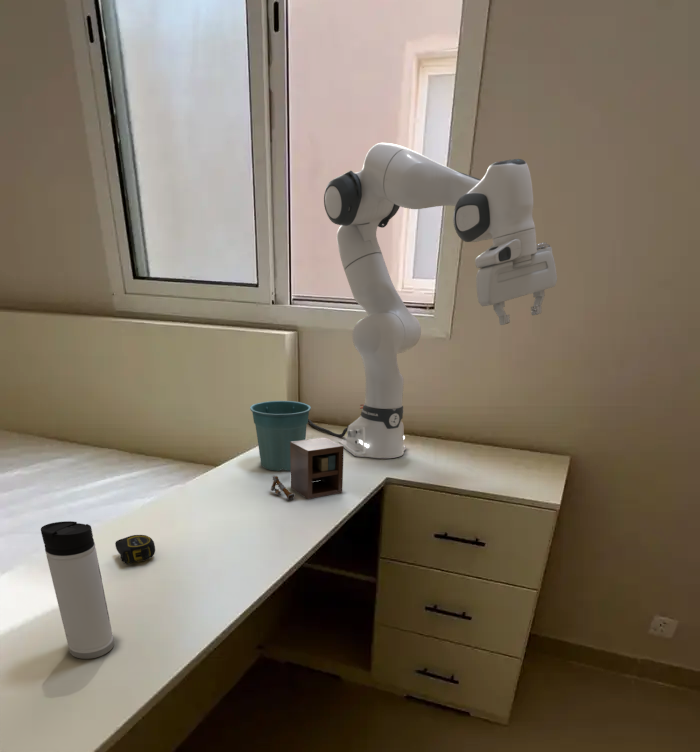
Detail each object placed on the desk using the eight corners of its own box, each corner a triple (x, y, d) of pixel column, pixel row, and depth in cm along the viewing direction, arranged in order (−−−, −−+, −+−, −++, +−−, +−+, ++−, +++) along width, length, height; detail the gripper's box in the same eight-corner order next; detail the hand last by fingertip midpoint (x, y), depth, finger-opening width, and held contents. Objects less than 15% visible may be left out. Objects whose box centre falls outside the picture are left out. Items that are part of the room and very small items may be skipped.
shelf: (290, 488, 155) (290, 441, 149) (324, 482, 160) (324, 437, 154) (308, 499, 148) (308, 450, 142) (342, 493, 153) (343, 445, 147)
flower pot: (259, 476, 162) (256, 415, 154) (247, 458, 176) (244, 401, 168) (317, 472, 167) (318, 412, 159) (302, 455, 180) (302, 399, 172)
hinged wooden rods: (272, 486, 152) (276, 472, 149) (290, 507, 150) (295, 493, 146) (266, 488, 151) (270, 474, 148) (285, 508, 149) (289, 494, 145)
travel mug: (58, 655, 88) (26, 528, 78) (90, 632, 94) (64, 511, 84) (92, 665, 87) (64, 537, 77) (123, 641, 92) (100, 519, 82)
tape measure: (116, 554, 118) (113, 536, 116) (152, 548, 121) (149, 531, 119) (122, 568, 113) (119, 550, 111) (159, 562, 116) (157, 544, 114)
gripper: (540, 243, 135) (544, 310, 141) (468, 261, 128) (476, 330, 134) (561, 237, 130) (565, 307, 136) (488, 256, 123) (496, 328, 129)
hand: (520, 319), depth 135 cm, fingers open, 8 cm apart
